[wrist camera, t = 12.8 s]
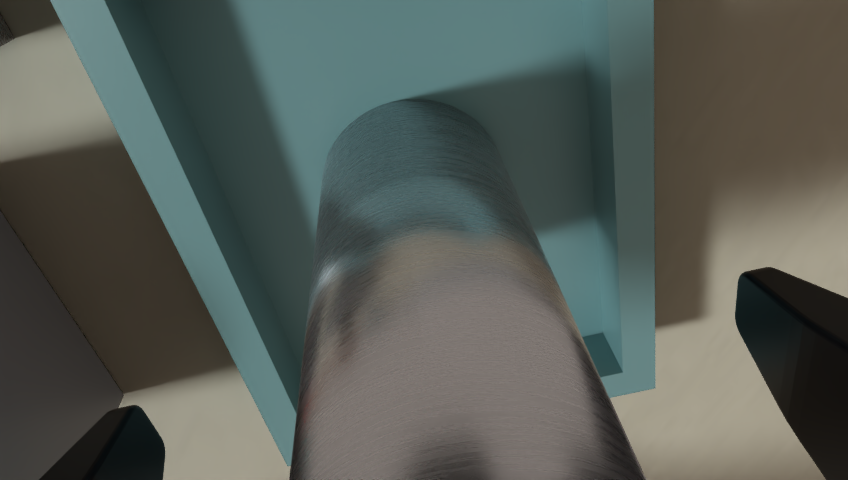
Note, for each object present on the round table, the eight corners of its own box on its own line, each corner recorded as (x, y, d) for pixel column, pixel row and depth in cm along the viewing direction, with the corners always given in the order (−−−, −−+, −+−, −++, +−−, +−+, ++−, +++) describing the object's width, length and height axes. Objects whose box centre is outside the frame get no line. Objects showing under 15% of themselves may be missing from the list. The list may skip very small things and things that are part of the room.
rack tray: (626, 335, 18) (655, 387, 16) (294, 407, 18) (287, 466, 16) (606, -205, 11) (652, -215, 9) (71, -74, 11) (19, -59, 9)
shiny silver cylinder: (514, 240, 15) (674, 653, 7) (350, 277, 15) (342, 718, 7) (488, 78, 13) (677, 427, 5) (297, 124, 13) (209, 528, 5)
